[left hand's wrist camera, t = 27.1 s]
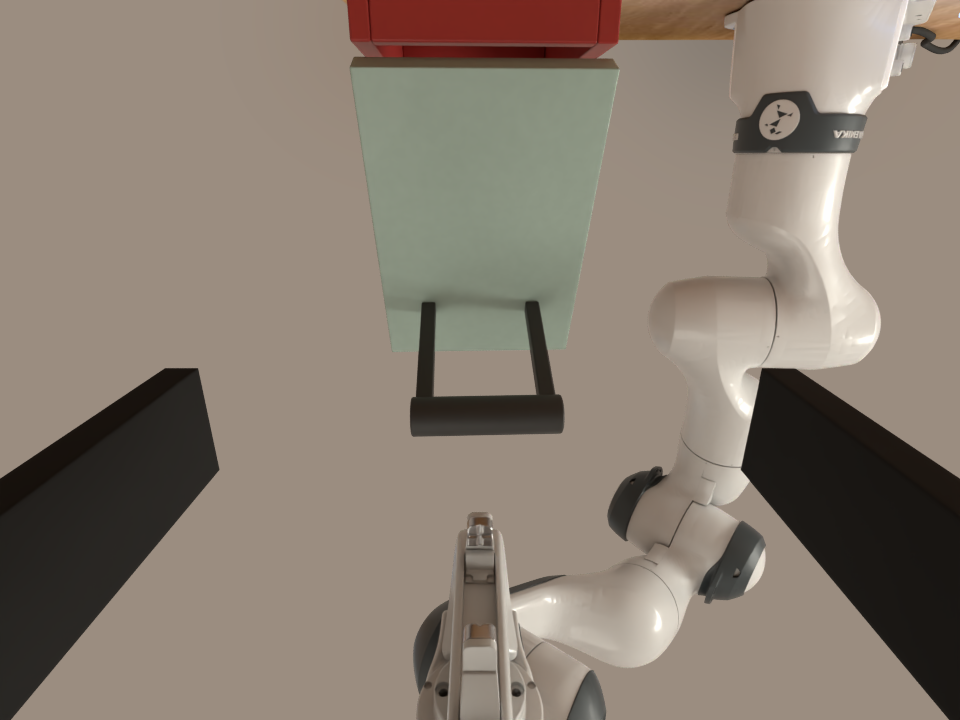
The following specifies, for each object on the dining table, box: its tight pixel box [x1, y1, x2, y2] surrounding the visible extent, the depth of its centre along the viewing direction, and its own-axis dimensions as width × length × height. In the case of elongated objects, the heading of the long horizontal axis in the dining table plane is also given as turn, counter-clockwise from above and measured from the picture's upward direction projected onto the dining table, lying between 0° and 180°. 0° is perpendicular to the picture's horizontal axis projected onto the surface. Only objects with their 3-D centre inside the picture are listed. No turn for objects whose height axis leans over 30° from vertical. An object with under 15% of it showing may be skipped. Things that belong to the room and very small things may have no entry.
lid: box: [350, 57, 620, 437], centre depth 21 cm, size 14×10×9 cm
